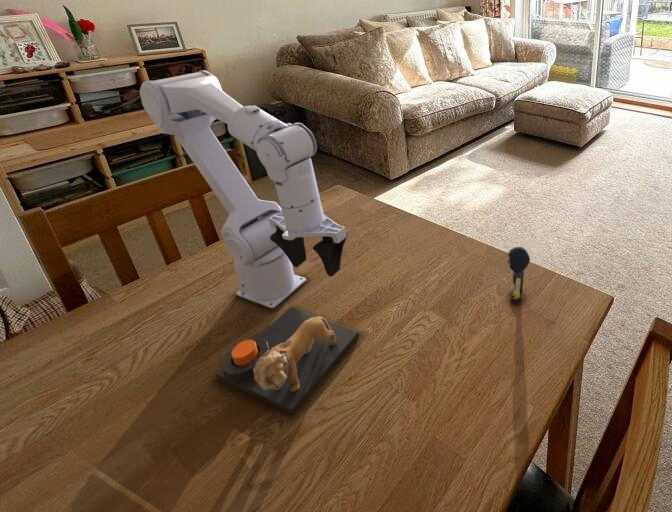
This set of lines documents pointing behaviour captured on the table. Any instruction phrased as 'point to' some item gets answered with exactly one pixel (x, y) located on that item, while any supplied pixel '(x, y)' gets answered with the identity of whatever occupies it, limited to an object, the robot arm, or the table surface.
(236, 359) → the button
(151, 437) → the table surface
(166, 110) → the robot arm
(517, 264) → the character figure
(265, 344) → the scale
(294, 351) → the lion figurine
